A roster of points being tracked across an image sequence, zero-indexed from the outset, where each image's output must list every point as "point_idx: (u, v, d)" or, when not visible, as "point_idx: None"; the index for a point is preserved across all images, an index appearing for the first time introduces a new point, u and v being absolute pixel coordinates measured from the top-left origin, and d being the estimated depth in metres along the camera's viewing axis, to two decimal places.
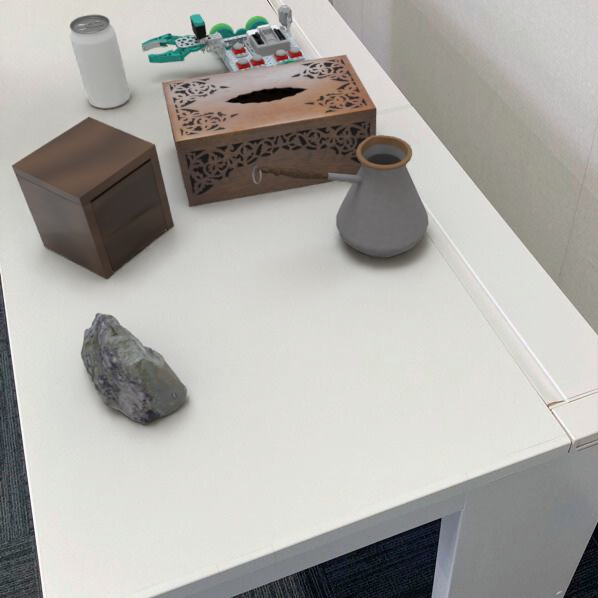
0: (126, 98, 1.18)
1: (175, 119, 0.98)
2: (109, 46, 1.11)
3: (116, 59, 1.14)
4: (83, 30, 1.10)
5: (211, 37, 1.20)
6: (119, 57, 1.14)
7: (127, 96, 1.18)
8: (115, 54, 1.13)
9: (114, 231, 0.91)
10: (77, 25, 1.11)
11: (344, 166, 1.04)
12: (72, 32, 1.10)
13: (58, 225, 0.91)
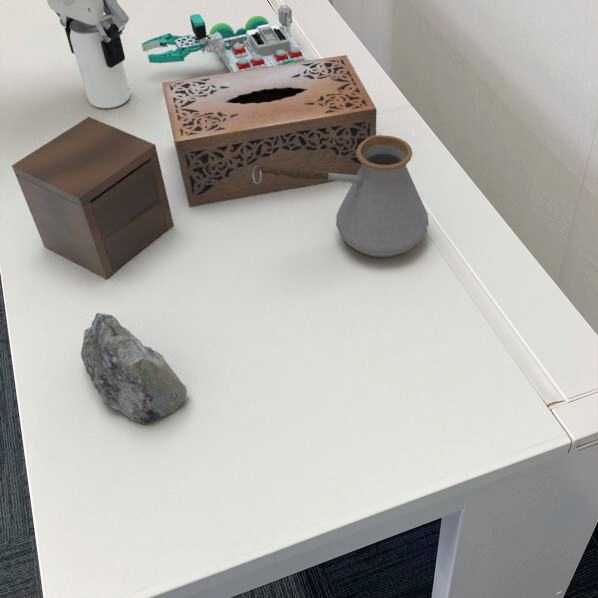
0: (126, 98, 1.18)
1: (175, 119, 0.98)
2: None
3: None
4: (83, 30, 1.10)
5: (211, 37, 1.20)
6: None
7: (127, 96, 1.18)
8: None
9: (114, 231, 0.91)
10: (77, 25, 1.11)
11: (344, 167, 1.04)
12: (72, 32, 1.10)
13: (58, 225, 0.91)
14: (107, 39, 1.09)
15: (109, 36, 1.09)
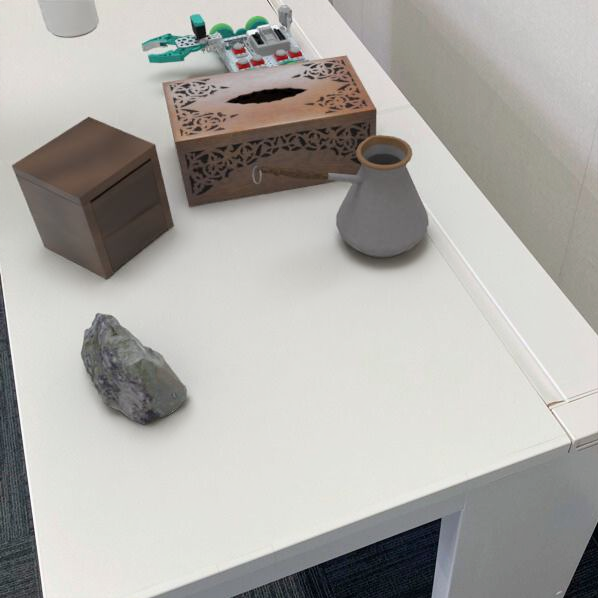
0: (94, 25, 0.95)
1: (175, 119, 0.98)
2: None
3: None
4: None
5: (211, 37, 1.20)
6: None
7: (95, 22, 0.95)
8: None
9: (114, 231, 0.91)
10: None
11: (344, 167, 1.04)
12: None
13: (58, 225, 0.91)
14: None
15: None
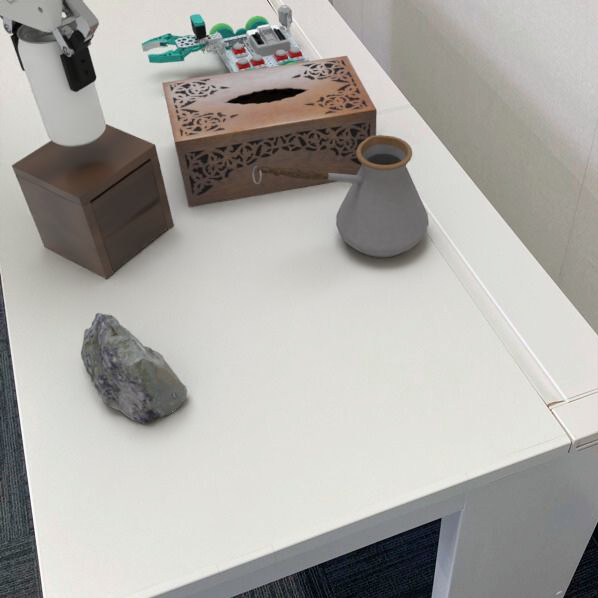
0: (100, 132, 0.86)
1: (175, 120, 0.98)
2: None
3: None
4: (36, 39, 0.77)
5: (211, 37, 1.20)
6: None
7: (101, 129, 0.86)
8: None
9: (114, 231, 0.91)
10: (28, 31, 0.78)
11: (344, 167, 1.04)
12: (20, 42, 0.77)
13: (58, 225, 0.91)
14: (69, 52, 0.76)
15: (72, 48, 0.76)
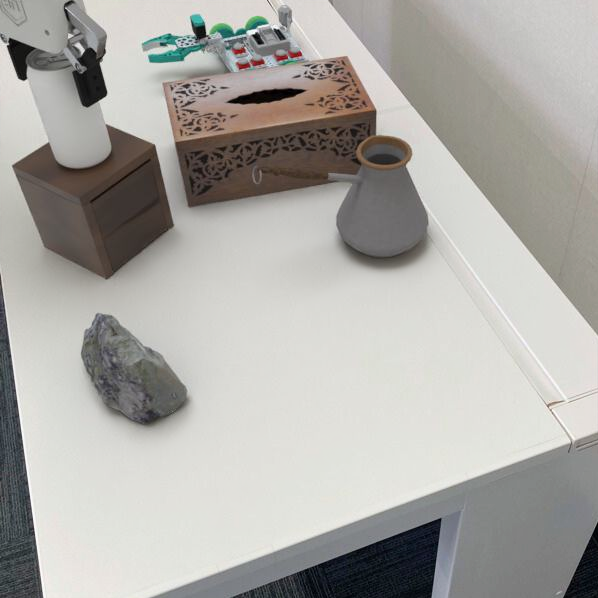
0: (106, 154, 0.88)
1: (175, 120, 0.98)
2: None
3: None
4: (44, 66, 0.79)
5: (211, 37, 1.20)
6: None
7: (107, 151, 0.88)
8: None
9: (114, 231, 0.91)
10: (36, 58, 0.80)
11: (344, 168, 1.04)
12: (29, 69, 0.79)
13: (58, 225, 0.91)
14: (81, 69, 0.77)
15: (84, 65, 0.76)
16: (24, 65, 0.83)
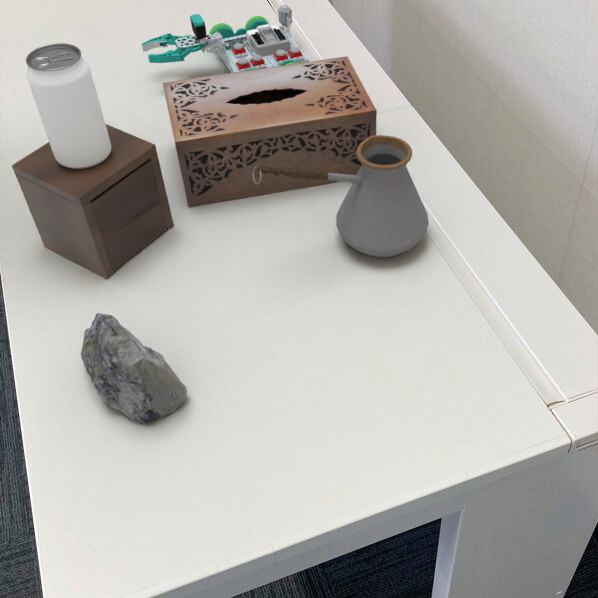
0: (106, 154, 0.88)
1: (175, 120, 0.98)
2: (81, 87, 0.81)
3: (91, 104, 0.83)
4: (44, 66, 0.79)
5: (211, 37, 1.20)
6: (95, 101, 0.84)
7: (107, 151, 0.88)
8: (89, 98, 0.82)
9: (114, 231, 0.91)
10: (36, 58, 0.80)
11: (343, 168, 1.04)
12: (29, 69, 0.79)
13: (58, 225, 0.91)
14: None
15: None
16: None
